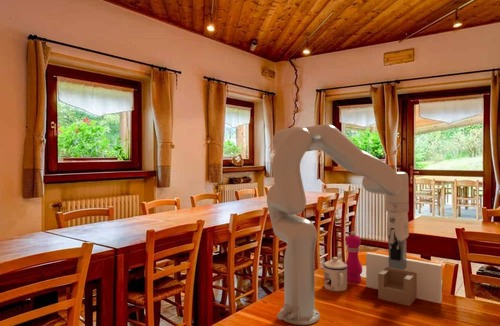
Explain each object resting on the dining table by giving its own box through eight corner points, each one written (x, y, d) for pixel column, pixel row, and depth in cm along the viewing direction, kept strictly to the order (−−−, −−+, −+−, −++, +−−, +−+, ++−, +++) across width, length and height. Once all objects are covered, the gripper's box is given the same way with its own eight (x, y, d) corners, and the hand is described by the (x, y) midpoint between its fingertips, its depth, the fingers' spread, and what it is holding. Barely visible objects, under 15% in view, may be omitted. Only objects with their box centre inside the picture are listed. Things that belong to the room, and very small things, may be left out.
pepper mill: (363, 283, 145) (363, 233, 144) (344, 282, 146) (344, 232, 145) (361, 277, 152) (361, 229, 151) (343, 276, 153) (343, 229, 153)
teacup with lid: (320, 283, 145) (320, 254, 144) (342, 282, 146) (342, 253, 146) (330, 295, 133) (330, 263, 133) (354, 294, 134) (354, 262, 134)
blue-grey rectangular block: (403, 269, 126) (403, 241, 126) (388, 267, 129) (388, 239, 129) (406, 267, 129) (406, 239, 129) (392, 264, 132) (391, 237, 132)
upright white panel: (434, 312, 118) (434, 272, 118) (357, 293, 135) (357, 258, 134) (441, 301, 127) (441, 264, 126) (368, 285, 143) (368, 252, 143)
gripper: (400, 211, 120) (401, 266, 120) (414, 204, 132) (415, 254, 133) (378, 209, 124) (378, 262, 125) (393, 203, 137) (394, 251, 138)
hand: (397, 258), depth 129 cm, fingers closed on blue-grey rectangular block, 3 cm apart
